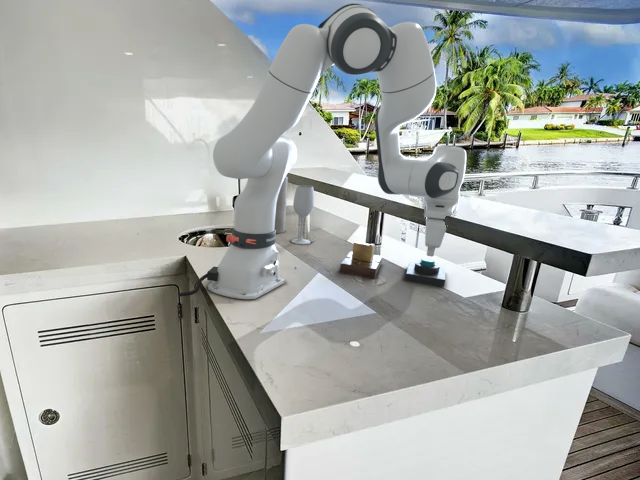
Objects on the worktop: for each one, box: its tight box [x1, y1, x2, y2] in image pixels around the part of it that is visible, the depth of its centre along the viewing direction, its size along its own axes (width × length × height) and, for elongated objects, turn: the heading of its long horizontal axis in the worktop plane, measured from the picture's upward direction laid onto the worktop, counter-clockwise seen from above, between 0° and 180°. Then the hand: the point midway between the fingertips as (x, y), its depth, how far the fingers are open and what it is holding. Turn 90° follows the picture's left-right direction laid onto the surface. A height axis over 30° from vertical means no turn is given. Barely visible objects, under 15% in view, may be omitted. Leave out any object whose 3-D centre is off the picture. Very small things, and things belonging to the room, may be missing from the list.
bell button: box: [420, 257, 436, 267], centre depth 110 cm, size 4×4×2 cm
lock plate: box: [339, 251, 383, 279], centre depth 117 cm, size 14×10×3 cm
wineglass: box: [291, 184, 315, 245], centre depth 142 cm, size 8×8×21 cm
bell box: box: [404, 260, 446, 288], centre depth 111 cm, size 12×10×4 cm
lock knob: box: [352, 240, 376, 262], centre depth 116 cm, size 6×2×5 cm, turn 49°
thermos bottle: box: [274, 176, 289, 234], centre depth 156 cm, size 8×8×28 cm
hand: (430, 255), depth 109 cm, fingers closed
